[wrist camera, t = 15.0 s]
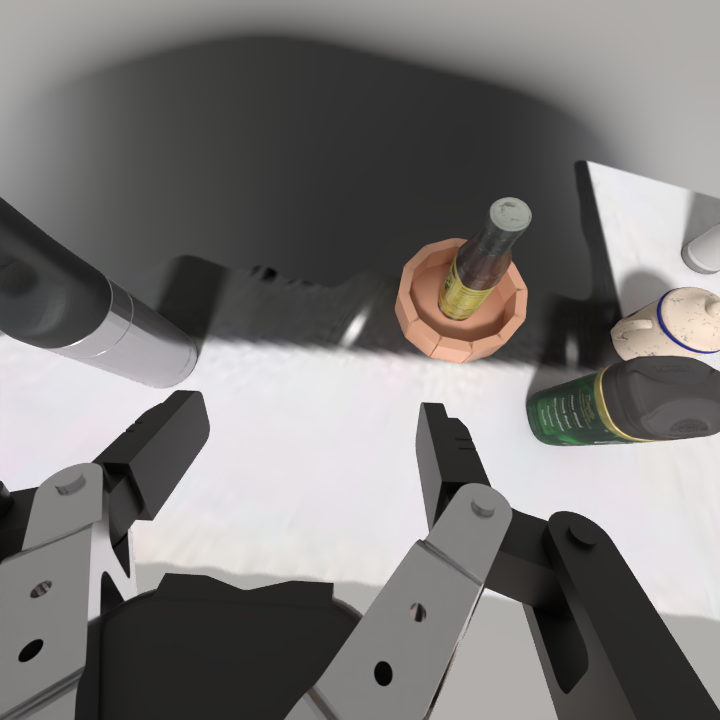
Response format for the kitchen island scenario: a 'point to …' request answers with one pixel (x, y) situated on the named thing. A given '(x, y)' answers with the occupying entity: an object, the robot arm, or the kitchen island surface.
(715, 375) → the coffee jar
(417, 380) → the kitchen island surface
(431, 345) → the terracotta bowl
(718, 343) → the teacup with lid
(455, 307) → the sauce bottle
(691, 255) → the travel mug
